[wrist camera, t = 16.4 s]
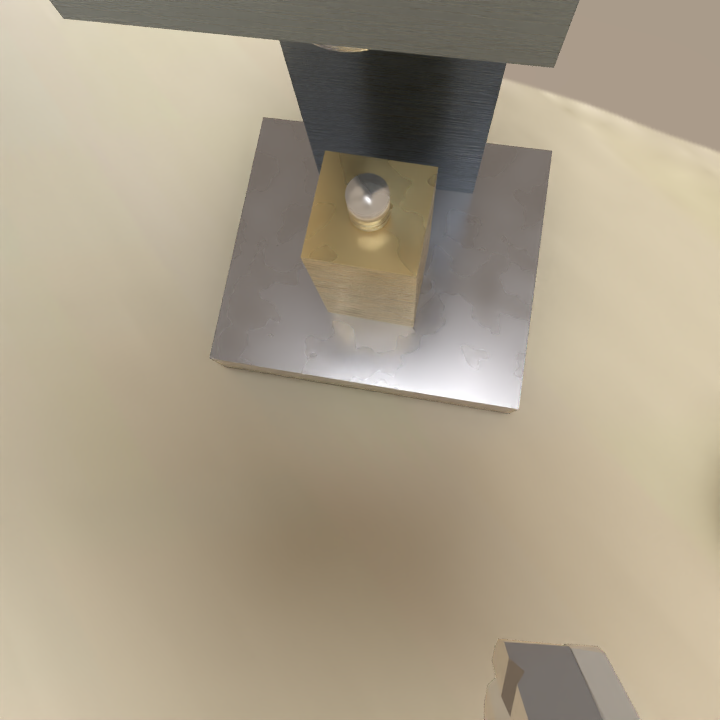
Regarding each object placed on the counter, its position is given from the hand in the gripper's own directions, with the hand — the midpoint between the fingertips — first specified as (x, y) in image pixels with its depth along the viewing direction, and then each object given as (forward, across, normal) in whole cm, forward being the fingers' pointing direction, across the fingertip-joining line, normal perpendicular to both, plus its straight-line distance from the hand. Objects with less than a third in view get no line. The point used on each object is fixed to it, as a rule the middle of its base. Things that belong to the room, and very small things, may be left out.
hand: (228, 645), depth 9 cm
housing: (+22, -2, -3) cm, 23 cm away
